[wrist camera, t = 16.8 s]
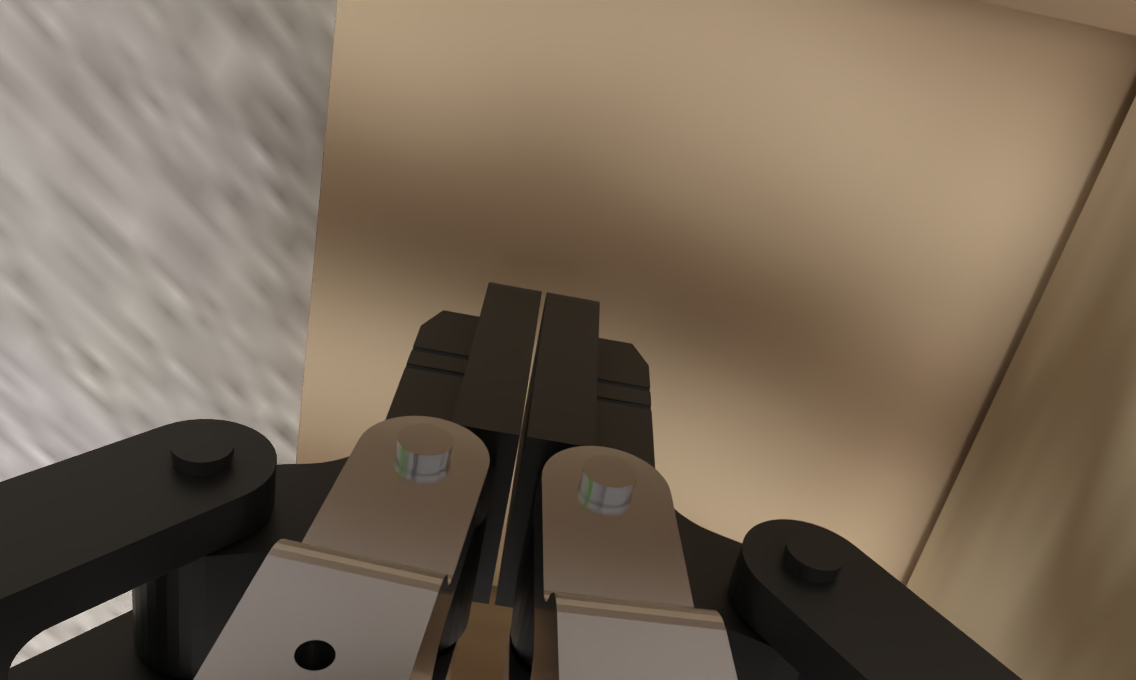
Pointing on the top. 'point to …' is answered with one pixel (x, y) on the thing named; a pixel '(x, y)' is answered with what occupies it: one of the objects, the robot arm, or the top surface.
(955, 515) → the jaw
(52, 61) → the top surface
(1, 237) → the top surface
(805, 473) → the vise base
